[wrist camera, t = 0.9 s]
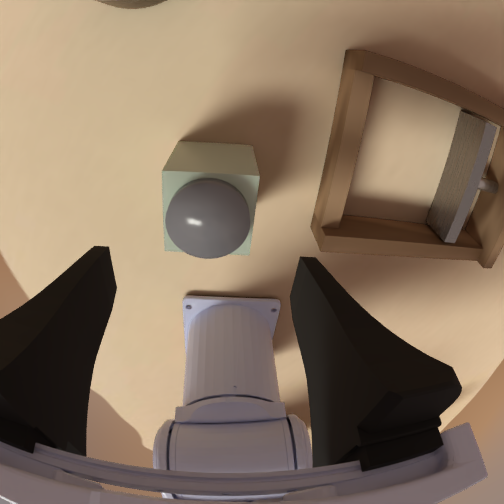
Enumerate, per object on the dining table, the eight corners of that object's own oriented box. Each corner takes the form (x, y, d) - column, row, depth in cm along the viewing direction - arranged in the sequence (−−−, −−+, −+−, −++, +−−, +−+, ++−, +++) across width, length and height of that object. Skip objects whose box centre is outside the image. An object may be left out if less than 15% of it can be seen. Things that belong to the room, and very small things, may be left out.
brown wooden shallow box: (468, 241, 24) (491, 268, 21) (310, 226, 22) (324, 261, 19) (512, 117, 17) (544, 134, 14) (345, 50, 15) (373, 50, 12)
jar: (244, 209, 21) (250, 264, 16) (177, 205, 20) (162, 260, 16) (252, 145, 18) (261, 182, 14) (178, 141, 18) (158, 177, 13)
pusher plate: (464, 226, 23) (483, 246, 20) (425, 220, 22) (444, 242, 20) (499, 129, 18) (523, 141, 15) (460, 110, 17) (486, 122, 14)
